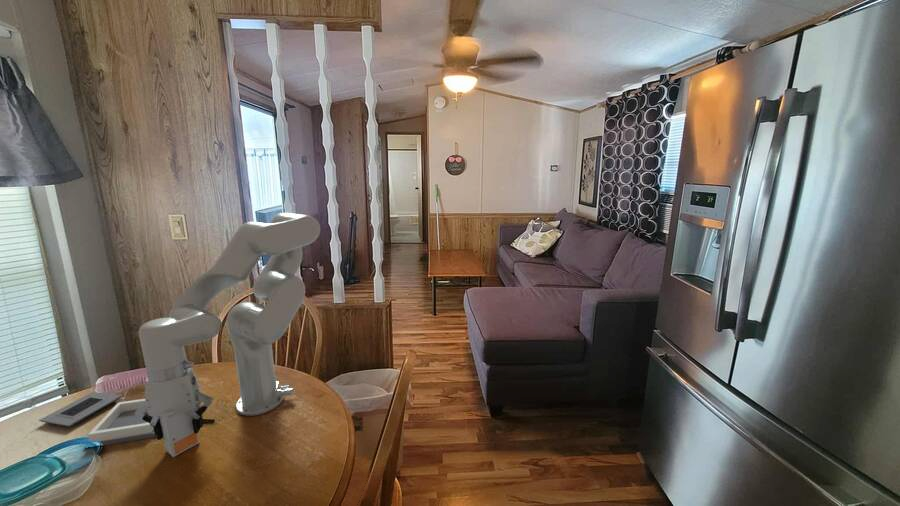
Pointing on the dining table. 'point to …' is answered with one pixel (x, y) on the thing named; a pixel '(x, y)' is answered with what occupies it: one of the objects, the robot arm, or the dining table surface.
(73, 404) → the grey slotted tray
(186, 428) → the skincare box
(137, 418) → the holder board
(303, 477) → the dining table surface
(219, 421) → the dining table surface
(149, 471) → the dining table surface
